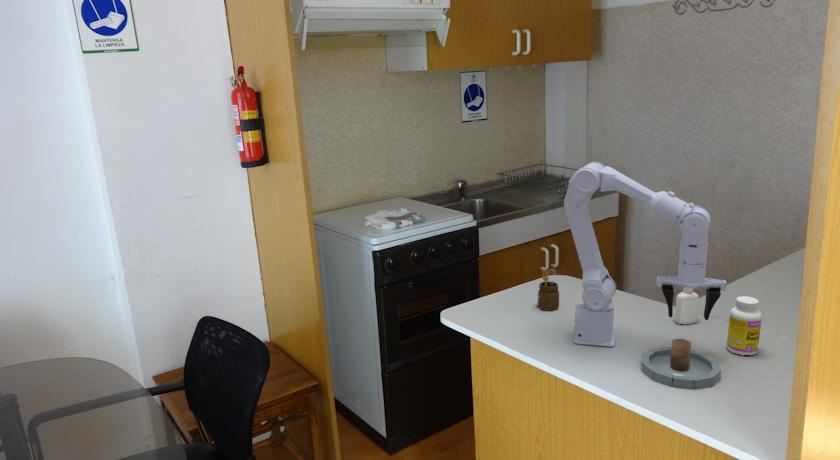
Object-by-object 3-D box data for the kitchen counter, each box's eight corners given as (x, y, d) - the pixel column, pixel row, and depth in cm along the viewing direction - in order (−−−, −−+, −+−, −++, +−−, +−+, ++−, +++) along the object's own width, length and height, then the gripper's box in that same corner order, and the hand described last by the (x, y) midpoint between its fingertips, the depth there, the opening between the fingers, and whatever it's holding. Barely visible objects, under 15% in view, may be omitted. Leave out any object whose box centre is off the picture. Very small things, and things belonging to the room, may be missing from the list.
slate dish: (643, 383, 138) (643, 375, 137) (640, 351, 152) (640, 344, 152) (724, 392, 133) (725, 383, 133) (713, 358, 148) (714, 350, 147)
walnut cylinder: (670, 370, 141) (672, 345, 140) (669, 362, 145) (671, 338, 144) (690, 372, 140) (692, 347, 139) (688, 364, 144) (690, 339, 142)
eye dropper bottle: (698, 326, 166) (701, 282, 163) (675, 324, 167) (678, 281, 164) (696, 319, 170) (699, 277, 167) (673, 318, 171) (676, 275, 168)
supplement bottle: (745, 359, 147) (750, 307, 144) (720, 348, 153) (725, 298, 150) (764, 352, 150) (769, 301, 147) (738, 342, 156) (743, 292, 153)
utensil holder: (562, 305, 182) (563, 265, 179) (554, 313, 177) (555, 272, 174) (542, 302, 186) (543, 262, 183) (534, 309, 180) (534, 269, 177)
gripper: (659, 264, 143) (655, 320, 147) (730, 268, 139) (724, 326, 142) (657, 255, 150) (654, 309, 153) (725, 258, 146) (720, 314, 149)
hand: (688, 317), depth 148 cm, fingers open, 7 cm apart
